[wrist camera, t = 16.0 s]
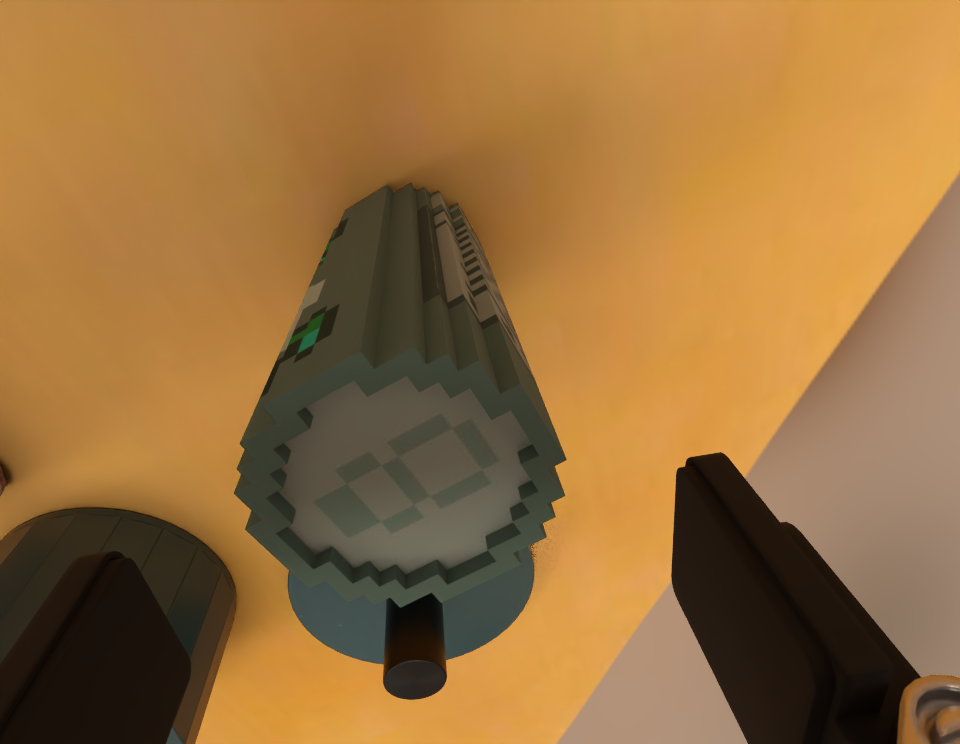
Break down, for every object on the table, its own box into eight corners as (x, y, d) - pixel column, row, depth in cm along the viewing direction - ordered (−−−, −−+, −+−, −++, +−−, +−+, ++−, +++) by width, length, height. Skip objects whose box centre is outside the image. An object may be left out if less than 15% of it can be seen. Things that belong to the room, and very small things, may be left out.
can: (303, 235, 23) (168, 459, 10) (431, 157, 22) (465, 292, 9) (386, 349, 26) (364, 639, 13) (503, 284, 25) (605, 524, 12)
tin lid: (259, 501, 29) (222, 610, 24) (519, 457, 30) (546, 553, 24) (326, 665, 36) (310, 782, 30) (539, 626, 37) (563, 735, 31)
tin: (-65, 530, 28) (-234, 699, 21) (189, 488, 29) (112, 638, 21) (57, 682, 34) (-41, 855, 27) (264, 646, 35) (225, 806, 27)
